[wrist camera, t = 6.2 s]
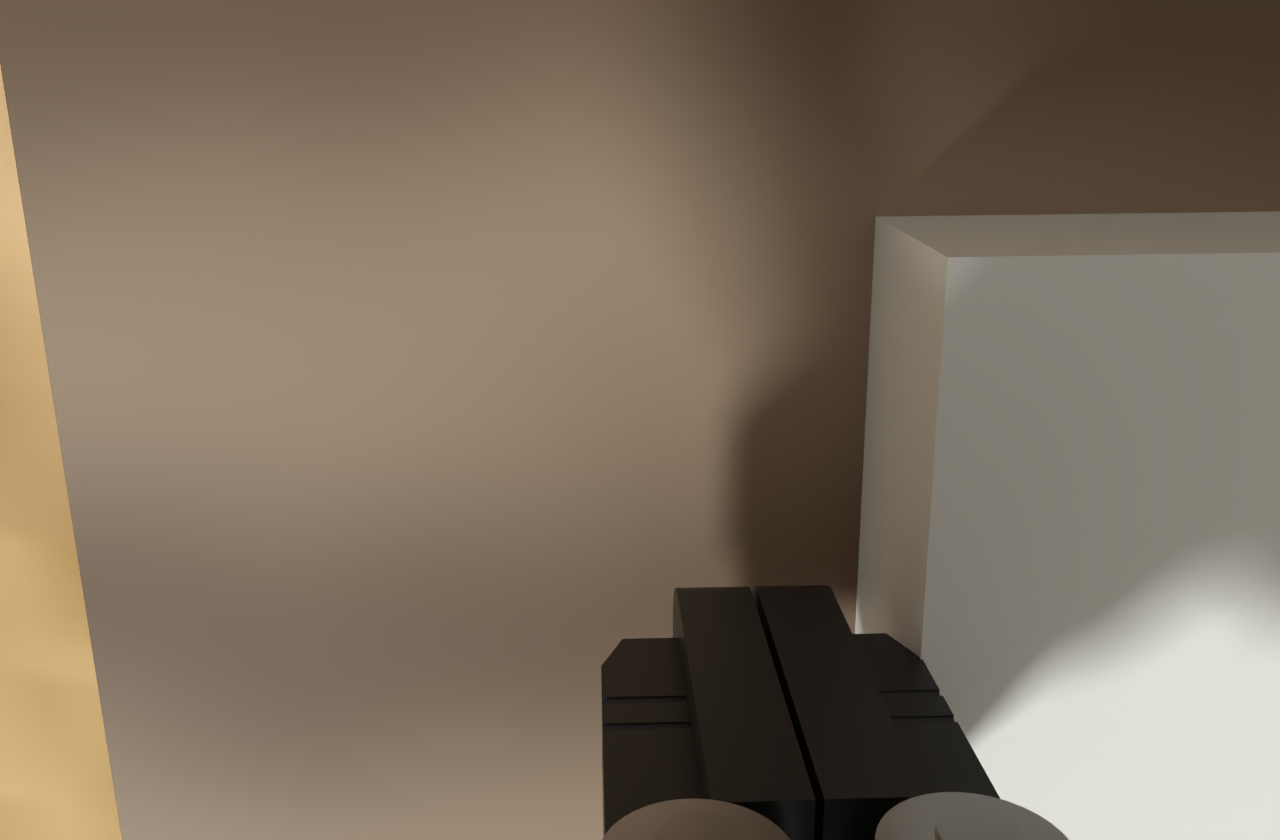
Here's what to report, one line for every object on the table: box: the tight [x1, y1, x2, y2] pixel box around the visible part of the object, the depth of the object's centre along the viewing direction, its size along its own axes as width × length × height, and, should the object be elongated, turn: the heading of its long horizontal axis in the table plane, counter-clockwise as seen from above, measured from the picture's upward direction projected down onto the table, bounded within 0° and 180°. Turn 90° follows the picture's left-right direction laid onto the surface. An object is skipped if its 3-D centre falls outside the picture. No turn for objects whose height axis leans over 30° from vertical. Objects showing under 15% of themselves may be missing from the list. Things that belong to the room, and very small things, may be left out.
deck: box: [0, 0, 1280, 840], centre depth 14 cm, size 22×14×3 cm, turn 0°
